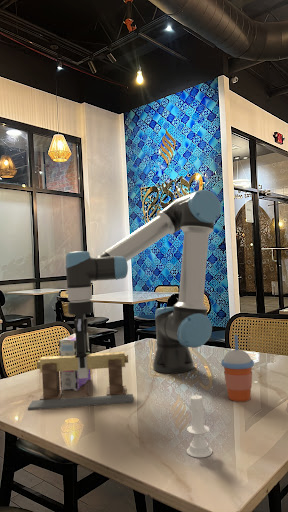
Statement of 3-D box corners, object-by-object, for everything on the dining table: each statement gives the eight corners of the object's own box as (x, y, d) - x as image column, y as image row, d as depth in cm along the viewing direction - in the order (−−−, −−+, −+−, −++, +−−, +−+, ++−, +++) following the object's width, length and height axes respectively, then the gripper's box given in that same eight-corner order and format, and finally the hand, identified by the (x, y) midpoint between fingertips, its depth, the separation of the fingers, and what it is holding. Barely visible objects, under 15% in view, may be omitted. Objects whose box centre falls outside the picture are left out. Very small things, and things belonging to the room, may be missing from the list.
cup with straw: (237, 405, 112) (233, 339, 113) (216, 397, 120) (213, 335, 121) (262, 399, 117) (259, 335, 117) (241, 391, 125) (237, 331, 125)
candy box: (77, 391, 133) (74, 339, 133) (60, 391, 134) (57, 340, 134) (91, 379, 146) (89, 332, 147) (75, 378, 148) (73, 332, 148)
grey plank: (132, 395, 125) (132, 393, 125) (133, 402, 119) (133, 400, 119) (32, 402, 124) (32, 400, 124) (28, 409, 118) (27, 407, 118)
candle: (183, 456, 85) (180, 397, 85) (190, 445, 90) (187, 389, 90) (209, 459, 83) (206, 399, 83) (214, 447, 88) (211, 391, 88)
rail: (128, 363, 132) (127, 351, 132) (128, 366, 128) (127, 353, 128) (39, 369, 130) (38, 357, 130) (37, 372, 127) (36, 359, 127)
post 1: (63, 392, 133) (62, 359, 133) (59, 400, 125) (58, 365, 125) (44, 393, 132) (43, 360, 132) (39, 401, 124) (38, 366, 125)
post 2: (126, 388, 134) (124, 355, 134) (126, 395, 126) (124, 361, 126) (107, 389, 133) (105, 356, 134) (106, 397, 125) (104, 362, 126)
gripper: (71, 299, 138) (74, 370, 137) (64, 304, 121) (68, 384, 121) (93, 298, 138) (97, 368, 138) (89, 302, 121) (94, 382, 121)
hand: (84, 375), depth 129 cm, fingers closed on rail, 3 cm apart
